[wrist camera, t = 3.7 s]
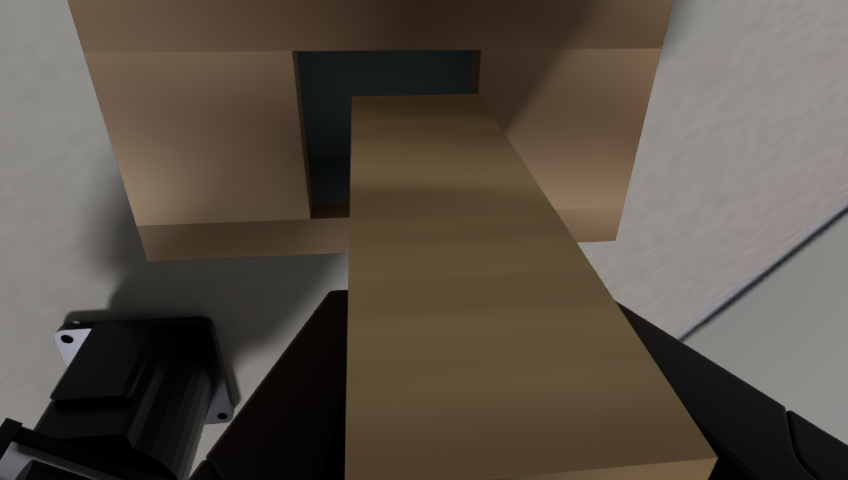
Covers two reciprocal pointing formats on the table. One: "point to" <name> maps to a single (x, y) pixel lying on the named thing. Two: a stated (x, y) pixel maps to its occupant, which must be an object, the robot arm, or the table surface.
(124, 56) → the lid
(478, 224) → the key
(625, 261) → the table surface
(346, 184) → the tray
